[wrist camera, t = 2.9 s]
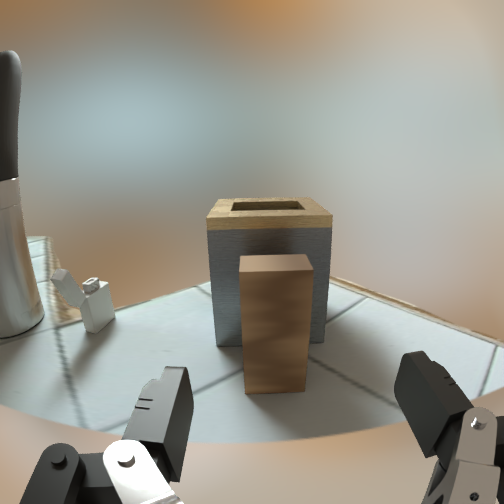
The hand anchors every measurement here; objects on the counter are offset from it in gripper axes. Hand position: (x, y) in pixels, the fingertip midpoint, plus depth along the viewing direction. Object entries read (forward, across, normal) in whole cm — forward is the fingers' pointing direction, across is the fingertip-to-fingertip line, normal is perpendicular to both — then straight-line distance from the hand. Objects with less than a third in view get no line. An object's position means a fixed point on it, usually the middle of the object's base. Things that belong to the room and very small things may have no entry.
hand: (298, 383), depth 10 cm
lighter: (+18, +19, +9) cm, 27 cm away
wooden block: (+10, 0, +9) cm, 14 cm away
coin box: (+20, 0, +9) cm, 22 cm away
